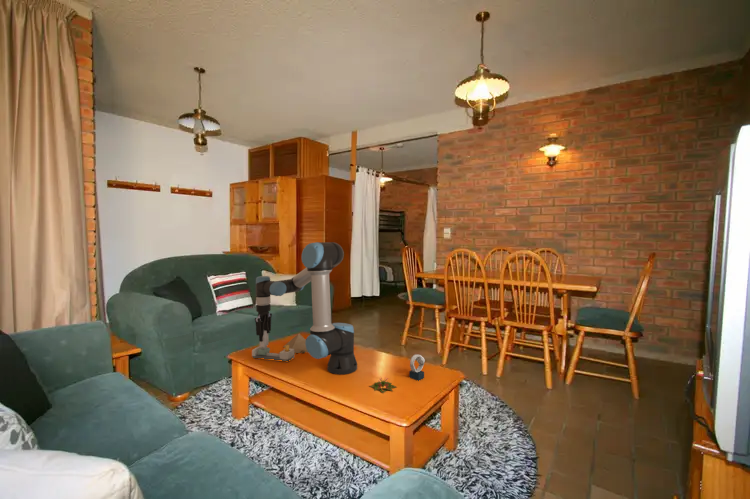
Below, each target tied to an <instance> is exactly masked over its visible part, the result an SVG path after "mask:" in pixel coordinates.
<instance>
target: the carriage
mask: <svg viewBox="0 0 750 499" xmlns="http://www.w3.org/2000/svg"><path fill="white" fill-rule="evenodd" d="M264 336H265V347H261V349H259V350H258V354H259V355H266V353H270V351H271V348H270V347H268V345H267V331H266V330H264Z"/></svg>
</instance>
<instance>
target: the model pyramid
mask: <svg viewBox="0 0 750 499" xmlns="http://www.w3.org/2000/svg"><path fill="white" fill-rule="evenodd" d="M305 341H306V338H305V337H304V336H303V335H301V333H297V334H296V335H295V336H294V337H292V338H291V339H290V340H289V341H288V342H287V343H286V344H285V345H289V349H294V355H296V354H295V353H300V354H301V353H302V354H306V353H308V351H307V349H306V345H305ZM285 345H283V346H282V348H283V347H284V348H285ZM284 348H283V349H284ZM305 352H306V353H305Z"/></svg>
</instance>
